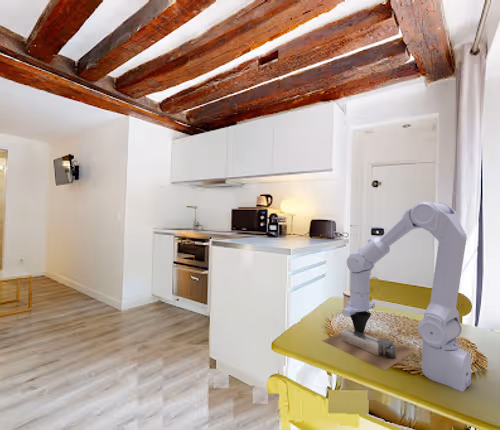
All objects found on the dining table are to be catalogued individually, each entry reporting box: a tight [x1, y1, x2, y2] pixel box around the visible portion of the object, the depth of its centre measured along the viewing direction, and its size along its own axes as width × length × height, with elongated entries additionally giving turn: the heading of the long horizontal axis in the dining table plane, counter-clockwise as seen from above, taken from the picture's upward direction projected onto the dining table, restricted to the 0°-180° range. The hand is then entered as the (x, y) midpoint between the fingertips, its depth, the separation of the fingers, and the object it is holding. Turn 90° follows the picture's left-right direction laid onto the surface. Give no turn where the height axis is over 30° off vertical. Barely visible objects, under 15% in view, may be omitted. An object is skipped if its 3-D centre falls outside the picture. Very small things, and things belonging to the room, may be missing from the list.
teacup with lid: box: [342, 288, 350, 309], centre depth 111 cm, size 12×9×12 cm
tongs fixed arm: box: [340, 328, 394, 356], centre depth 80 cm, size 14×3×4 cm, turn 36°
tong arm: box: [345, 327, 396, 359], centre depth 80 cm, size 15×3×3 cm, turn 35°
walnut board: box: [321, 327, 417, 371], centre depth 82 cm, size 20×18×1 cm
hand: (359, 334), depth 85 cm, fingers closed
